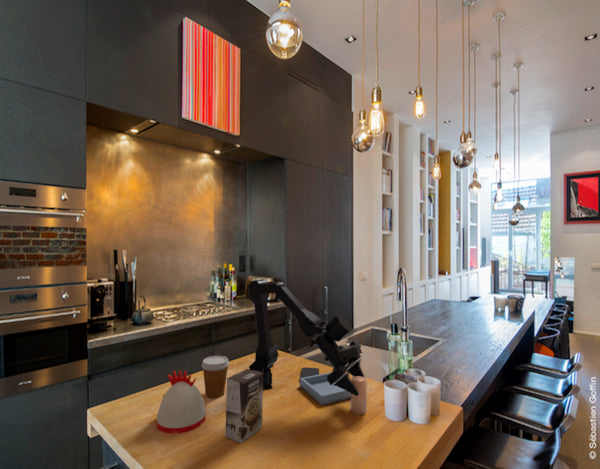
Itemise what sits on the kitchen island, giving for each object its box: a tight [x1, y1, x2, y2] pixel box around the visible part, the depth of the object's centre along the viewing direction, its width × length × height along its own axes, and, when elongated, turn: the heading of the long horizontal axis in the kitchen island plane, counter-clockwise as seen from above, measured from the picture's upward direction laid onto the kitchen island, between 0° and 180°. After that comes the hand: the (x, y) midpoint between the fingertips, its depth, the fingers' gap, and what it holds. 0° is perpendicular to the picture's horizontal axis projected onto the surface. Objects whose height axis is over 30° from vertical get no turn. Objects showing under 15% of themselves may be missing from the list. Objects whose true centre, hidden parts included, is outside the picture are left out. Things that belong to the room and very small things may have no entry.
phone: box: [298, 366, 320, 384], centre depth 136 cm, size 7×1×15 cm
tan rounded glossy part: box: [350, 376, 368, 415], centre depth 109 cm, size 5×5×10 cm
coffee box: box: [224, 368, 264, 444], centre depth 96 cm, size 9×6×16 cm
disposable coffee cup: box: [201, 355, 230, 399], centre depth 119 cm, size 10×10×12 cm
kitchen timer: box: [156, 369, 207, 435], centre depth 102 cm, size 14×14×15 cm
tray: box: [299, 371, 351, 406], centre depth 123 cm, size 16×16×3 cm
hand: (362, 389), depth 109 cm, fingers open, 9 cm apart
